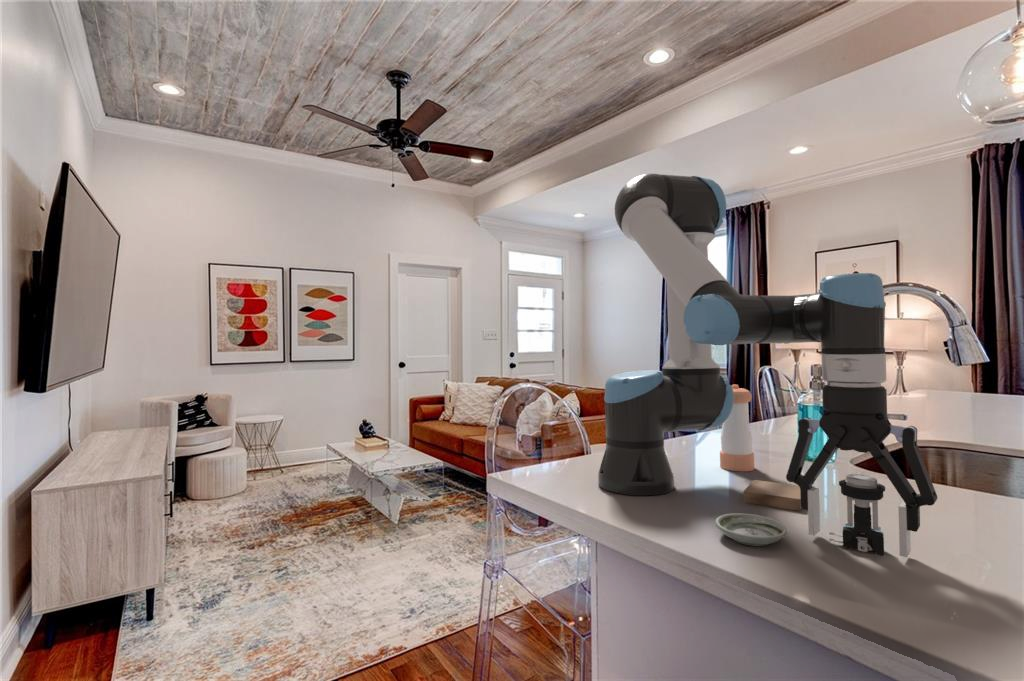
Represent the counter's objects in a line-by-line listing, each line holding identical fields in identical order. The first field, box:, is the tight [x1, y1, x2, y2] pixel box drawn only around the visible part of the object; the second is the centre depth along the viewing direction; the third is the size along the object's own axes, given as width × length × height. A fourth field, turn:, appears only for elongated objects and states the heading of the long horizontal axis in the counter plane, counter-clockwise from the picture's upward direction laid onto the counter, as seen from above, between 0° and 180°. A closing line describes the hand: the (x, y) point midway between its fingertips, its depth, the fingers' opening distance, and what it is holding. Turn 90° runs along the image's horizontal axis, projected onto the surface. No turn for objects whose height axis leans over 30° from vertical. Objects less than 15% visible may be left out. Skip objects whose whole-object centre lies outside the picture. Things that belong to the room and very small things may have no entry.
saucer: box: [714, 512, 788, 547], centre depth 75 cm, size 10×10×2 cm
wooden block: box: [743, 479, 803, 512], centre depth 93 cm, size 9×9×2 cm
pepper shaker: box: [719, 384, 755, 472], centre depth 117 cm, size 7×7×19 cm
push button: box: [829, 473, 886, 556], centre depth 71 cm, size 7×5×10 cm
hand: (857, 542), depth 71 cm, fingers open, 10 cm apart
